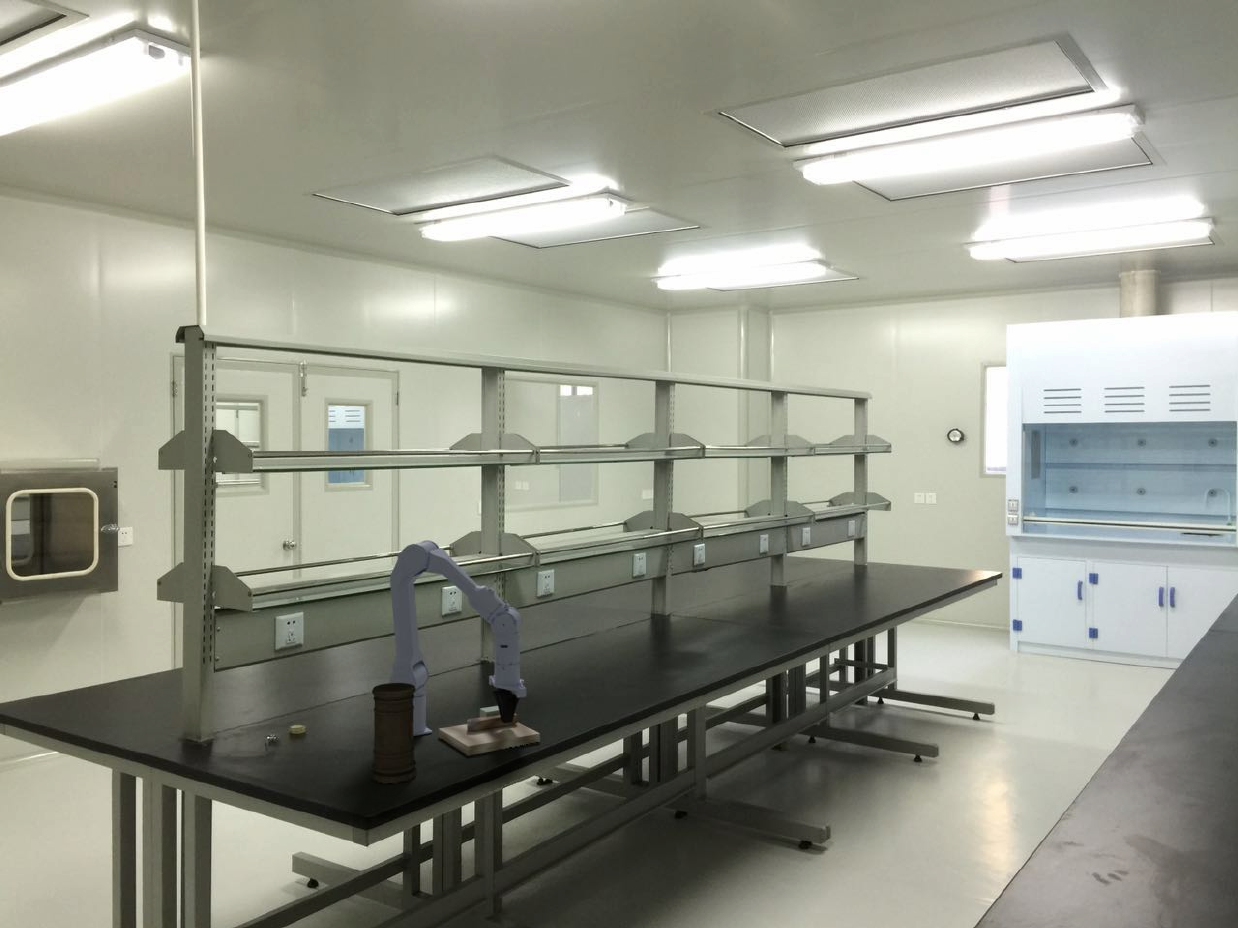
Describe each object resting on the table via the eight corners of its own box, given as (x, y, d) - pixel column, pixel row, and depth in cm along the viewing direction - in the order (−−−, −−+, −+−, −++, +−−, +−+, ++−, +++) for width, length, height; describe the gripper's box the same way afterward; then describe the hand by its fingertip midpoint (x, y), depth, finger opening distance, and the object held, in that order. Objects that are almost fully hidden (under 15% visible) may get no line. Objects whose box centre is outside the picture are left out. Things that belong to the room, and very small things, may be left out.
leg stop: (486, 725, 227) (486, 712, 227) (479, 722, 230) (479, 708, 230) (509, 721, 231) (509, 708, 231) (502, 718, 234) (502, 704, 234)
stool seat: (468, 755, 212) (468, 746, 212) (438, 737, 225) (438, 728, 225) (539, 742, 222) (539, 733, 222) (507, 725, 235) (508, 717, 235)
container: (388, 787, 193) (388, 695, 192) (362, 776, 199) (362, 687, 198) (426, 775, 199) (426, 686, 199) (399, 765, 205) (399, 679, 205)
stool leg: (470, 731, 222) (470, 722, 222) (465, 728, 224) (465, 719, 224) (517, 723, 229) (517, 714, 229) (511, 720, 231) (511, 711, 231)
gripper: (538, 666, 221) (538, 726, 222) (508, 654, 233) (508, 712, 234) (510, 670, 218) (510, 731, 218) (480, 658, 230) (480, 716, 230)
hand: (507, 722), depth 226 cm, fingers closed
